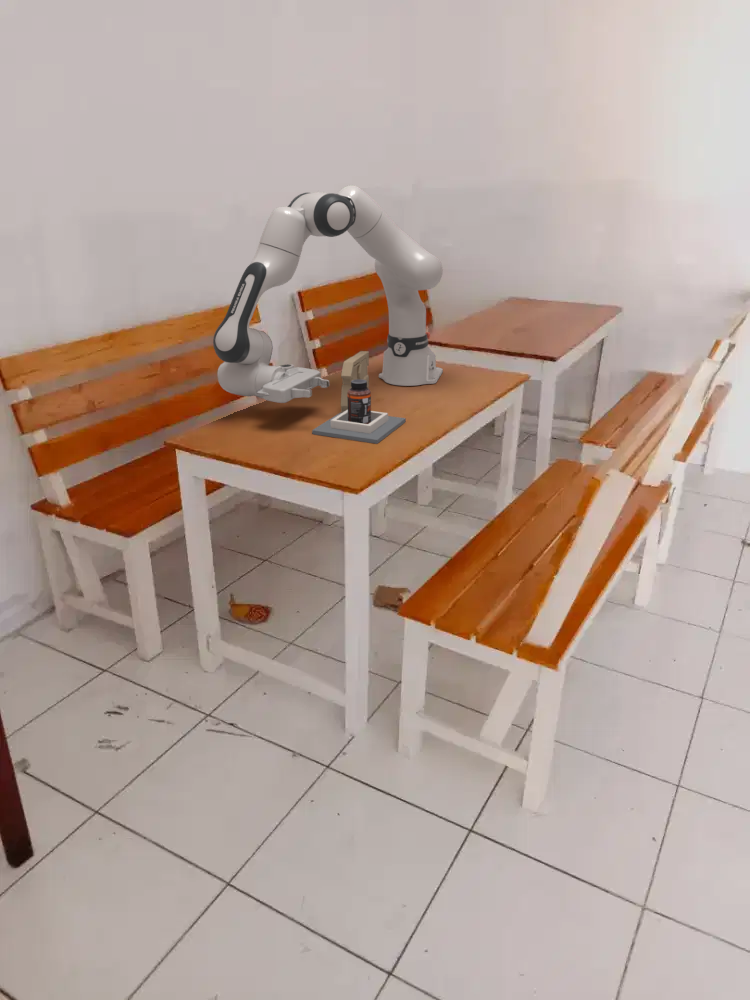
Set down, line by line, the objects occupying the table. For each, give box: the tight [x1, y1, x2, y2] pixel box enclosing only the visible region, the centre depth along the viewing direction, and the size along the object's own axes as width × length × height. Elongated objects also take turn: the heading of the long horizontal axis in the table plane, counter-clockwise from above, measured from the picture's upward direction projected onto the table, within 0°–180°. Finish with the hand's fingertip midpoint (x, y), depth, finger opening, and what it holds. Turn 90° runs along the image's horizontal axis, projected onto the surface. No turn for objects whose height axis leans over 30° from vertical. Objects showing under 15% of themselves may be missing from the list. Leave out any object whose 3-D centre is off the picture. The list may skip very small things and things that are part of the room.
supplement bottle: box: [347, 379, 372, 424], centre depth 200 cm, size 6×6×11 cm
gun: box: [340, 350, 370, 413], centre depth 217 cm, size 24×3×15 cm, turn 169°
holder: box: [311, 410, 407, 445], centre depth 202 cm, size 18×18×3 cm
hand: (319, 388), depth 203 cm, fingers open, 8 cm apart
